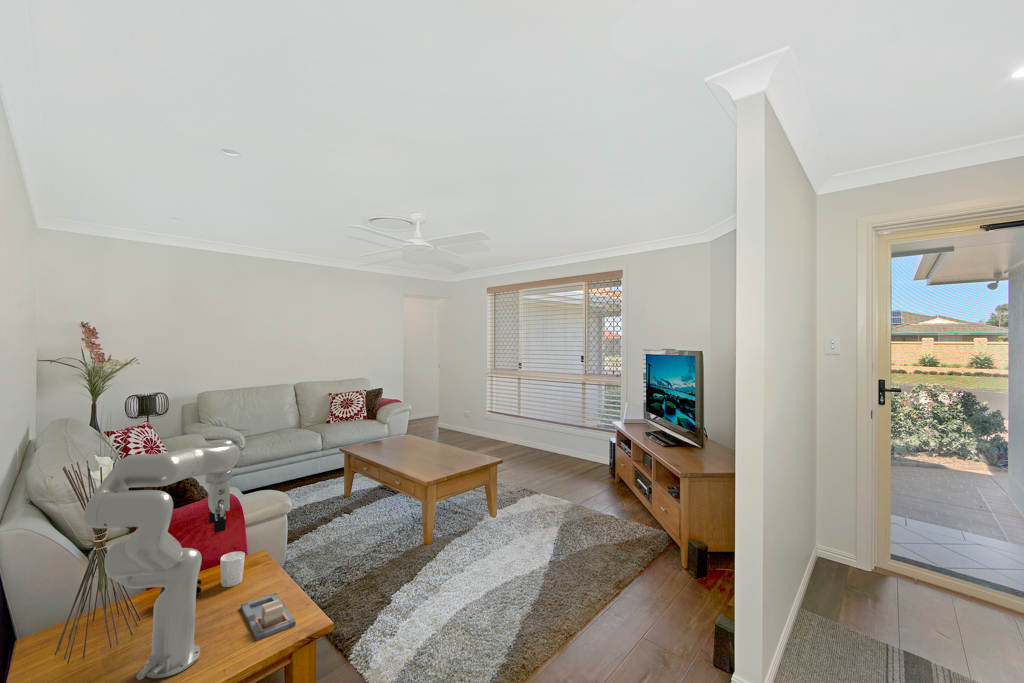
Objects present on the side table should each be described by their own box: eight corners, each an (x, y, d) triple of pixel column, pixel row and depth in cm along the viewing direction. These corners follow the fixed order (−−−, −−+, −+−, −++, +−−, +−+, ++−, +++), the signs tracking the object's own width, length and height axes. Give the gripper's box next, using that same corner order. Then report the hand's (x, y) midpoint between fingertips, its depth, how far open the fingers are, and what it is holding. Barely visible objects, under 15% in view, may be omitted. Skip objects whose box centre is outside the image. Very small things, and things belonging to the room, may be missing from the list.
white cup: (248, 578, 168) (249, 552, 168) (233, 589, 160) (234, 561, 161) (229, 576, 169) (230, 550, 169) (214, 587, 161) (215, 560, 161)
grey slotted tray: (295, 626, 140) (295, 620, 140) (257, 641, 132) (257, 635, 132) (275, 597, 156) (276, 592, 156) (240, 608, 148) (240, 603, 148)
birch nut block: (282, 624, 140) (283, 605, 140) (265, 631, 136) (266, 611, 136) (278, 617, 143) (278, 599, 144) (261, 623, 140) (261, 605, 140)
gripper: (237, 480, 144) (235, 532, 143) (226, 469, 157) (224, 516, 156) (209, 484, 139) (207, 538, 138) (201, 473, 151) (199, 522, 151)
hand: (216, 527), depth 147 cm, fingers open, 9 cm apart
